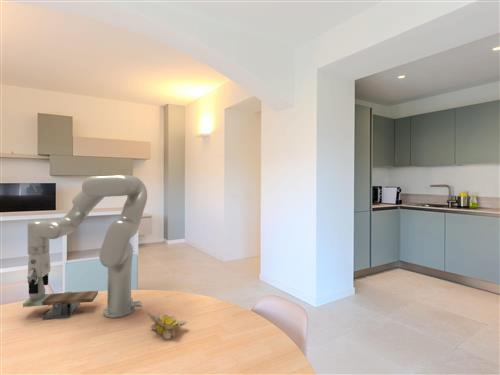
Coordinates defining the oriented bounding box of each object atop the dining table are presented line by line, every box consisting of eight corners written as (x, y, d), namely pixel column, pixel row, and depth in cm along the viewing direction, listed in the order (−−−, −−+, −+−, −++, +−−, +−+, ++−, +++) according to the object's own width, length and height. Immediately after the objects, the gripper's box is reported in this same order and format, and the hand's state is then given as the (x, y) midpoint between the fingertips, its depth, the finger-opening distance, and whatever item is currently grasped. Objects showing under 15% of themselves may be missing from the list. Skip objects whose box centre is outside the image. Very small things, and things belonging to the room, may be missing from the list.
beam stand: (80, 303, 137) (80, 290, 137) (69, 318, 123) (69, 303, 123) (56, 305, 135) (56, 292, 134) (42, 320, 121) (42, 305, 121)
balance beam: (97, 293, 136) (97, 290, 136) (92, 302, 127) (92, 298, 127) (33, 298, 130) (33, 294, 130) (22, 307, 121) (22, 303, 121)
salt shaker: (48, 296, 129) (48, 266, 129) (38, 301, 123) (38, 270, 123) (36, 295, 130) (36, 266, 129) (25, 300, 124) (25, 270, 124)
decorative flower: (194, 329, 112) (188, 305, 111) (168, 347, 104) (161, 322, 103) (173, 318, 123) (167, 296, 121) (148, 334, 115) (142, 311, 114)
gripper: (39, 254, 118) (39, 296, 119) (56, 244, 135) (56, 281, 136) (17, 255, 117) (18, 297, 117) (38, 245, 133) (38, 282, 134)
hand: (38, 289), depth 126 cm, fingers open, 9 cm apart
